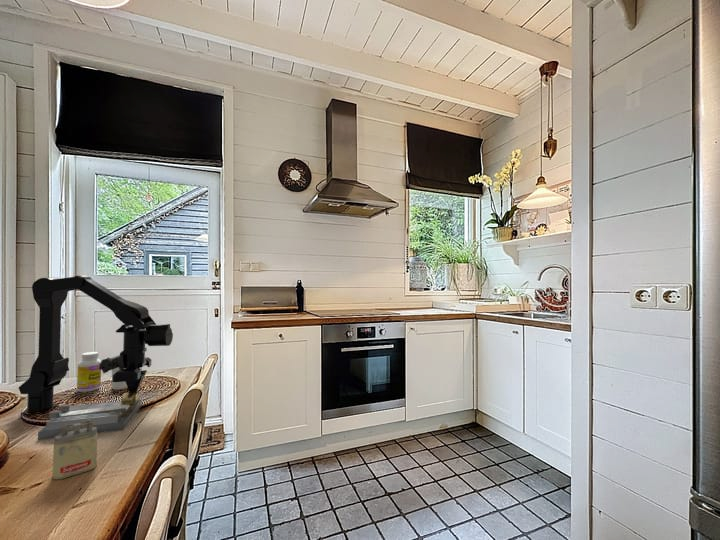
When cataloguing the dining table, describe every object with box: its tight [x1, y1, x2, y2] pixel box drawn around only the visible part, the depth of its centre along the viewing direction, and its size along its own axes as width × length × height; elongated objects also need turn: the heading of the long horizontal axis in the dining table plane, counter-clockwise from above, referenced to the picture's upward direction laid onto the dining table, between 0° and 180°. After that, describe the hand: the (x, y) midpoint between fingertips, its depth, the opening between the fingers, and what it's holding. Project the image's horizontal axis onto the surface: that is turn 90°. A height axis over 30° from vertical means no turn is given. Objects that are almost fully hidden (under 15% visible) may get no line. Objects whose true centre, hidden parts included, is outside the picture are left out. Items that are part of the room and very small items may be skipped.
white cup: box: [111, 367, 128, 390], centre depth 125 cm, size 7×7×10 cm
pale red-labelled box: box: [51, 419, 98, 480], centre depth 71 cm, size 7×4×10 cm, turn 134°
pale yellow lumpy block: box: [120, 391, 139, 405], centre depth 102 cm, size 6×4×3 cm, turn 20°
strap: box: [61, 404, 129, 418], centre depth 93 cm, size 16×3×1 cm, turn 110°
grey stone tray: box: [37, 398, 143, 441], centre depth 95 cm, size 18×18×5 cm
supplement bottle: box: [76, 351, 102, 393], centre depth 121 cm, size 7×7×13 cm
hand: (132, 396), depth 106 cm, fingers closed
